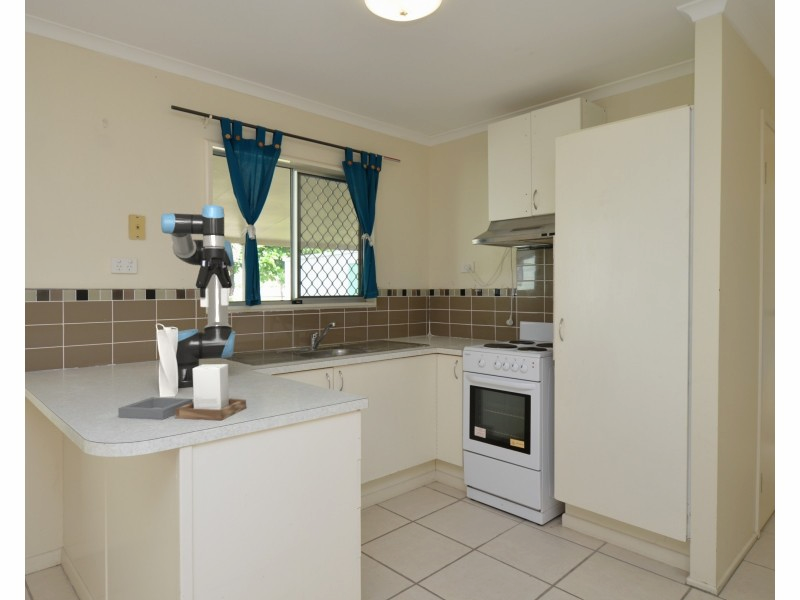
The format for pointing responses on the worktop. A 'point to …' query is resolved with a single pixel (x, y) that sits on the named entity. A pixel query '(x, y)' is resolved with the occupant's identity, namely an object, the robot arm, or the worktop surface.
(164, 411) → the gray square tray
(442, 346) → the worktop surface
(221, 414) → the tray
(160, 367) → the skyscraper
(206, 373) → the supplement box
